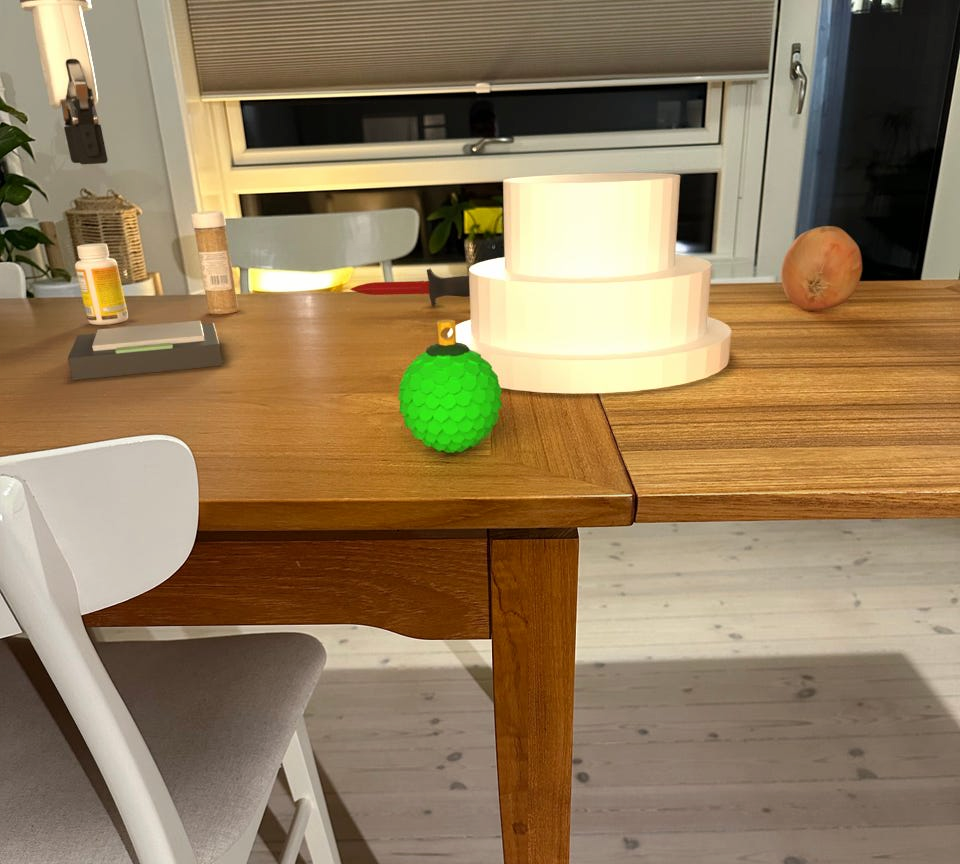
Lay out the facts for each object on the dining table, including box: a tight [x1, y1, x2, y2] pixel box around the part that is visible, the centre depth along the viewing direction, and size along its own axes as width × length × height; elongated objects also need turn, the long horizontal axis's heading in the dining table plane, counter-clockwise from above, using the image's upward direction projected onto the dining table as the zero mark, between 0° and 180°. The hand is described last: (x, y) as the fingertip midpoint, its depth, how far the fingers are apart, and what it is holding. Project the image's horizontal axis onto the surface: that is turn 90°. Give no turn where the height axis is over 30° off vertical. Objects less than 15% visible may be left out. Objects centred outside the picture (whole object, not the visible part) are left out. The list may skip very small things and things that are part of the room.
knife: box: [349, 268, 470, 307], centre depth 136 cm, size 24×2×5 cm, turn 84°
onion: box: [780, 225, 863, 312], centre depth 121 cm, size 10×10×10 cm
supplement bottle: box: [74, 243, 129, 326], centre depth 133 cm, size 6×6×10 cm
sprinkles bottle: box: [190, 210, 240, 315], centre depth 136 cm, size 5×5×14 cm
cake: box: [447, 172, 732, 395], centre depth 99 cm, size 30×30×18 cm
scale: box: [67, 320, 224, 381], centre depth 111 cm, size 16×14×3 cm
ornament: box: [397, 319, 503, 453], centre depth 74 cm, size 8×8×10 cm
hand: (89, 162), depth 116 cm, fingers open, 9 cm apart
